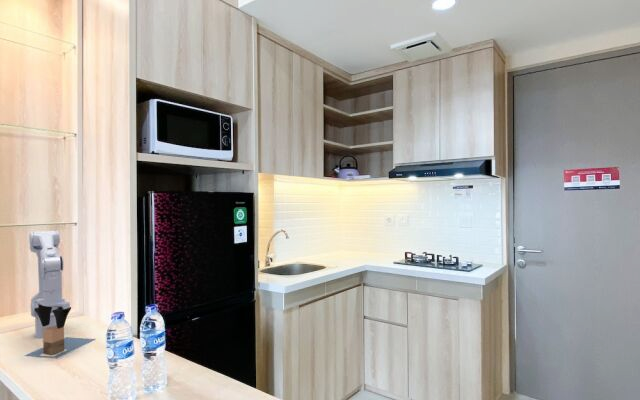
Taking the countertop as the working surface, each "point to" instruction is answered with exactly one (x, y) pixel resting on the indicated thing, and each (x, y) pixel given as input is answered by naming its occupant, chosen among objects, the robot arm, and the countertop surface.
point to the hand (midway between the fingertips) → (53, 326)
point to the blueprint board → (69, 346)
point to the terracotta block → (53, 334)
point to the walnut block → (53, 347)
